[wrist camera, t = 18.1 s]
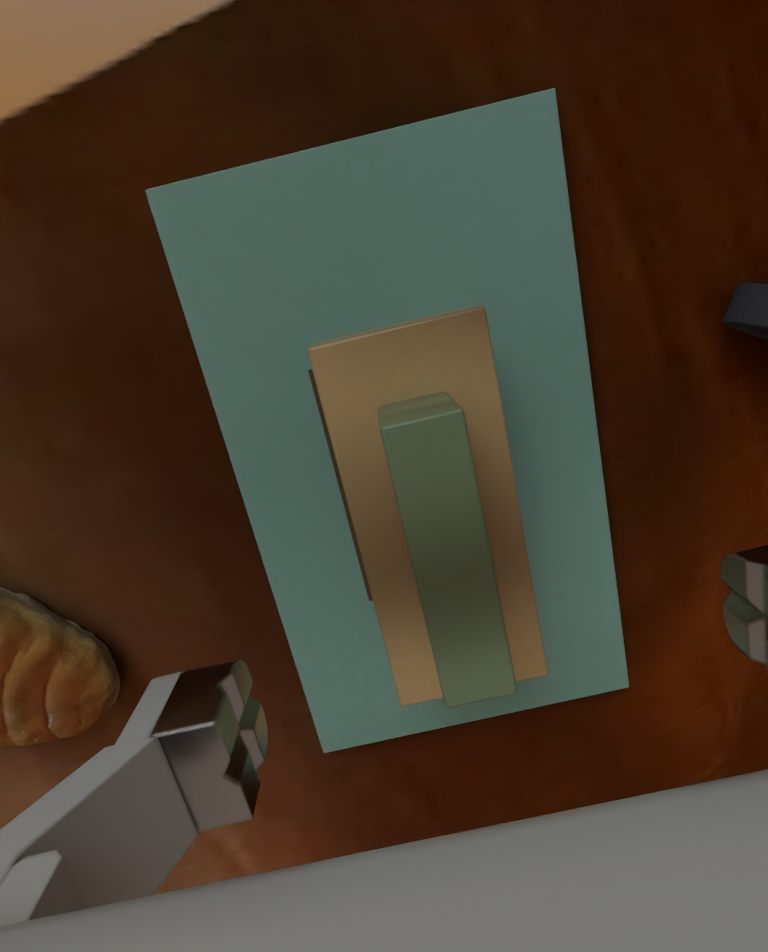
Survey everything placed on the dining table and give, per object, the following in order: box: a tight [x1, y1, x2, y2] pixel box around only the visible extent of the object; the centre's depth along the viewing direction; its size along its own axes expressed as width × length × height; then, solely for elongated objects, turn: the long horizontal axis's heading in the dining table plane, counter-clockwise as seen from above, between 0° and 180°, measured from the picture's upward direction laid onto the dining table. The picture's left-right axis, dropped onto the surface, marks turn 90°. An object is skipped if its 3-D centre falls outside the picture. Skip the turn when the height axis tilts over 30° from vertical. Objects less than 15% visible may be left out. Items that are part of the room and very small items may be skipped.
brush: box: [308, 306, 548, 708], centre depth 18 cm, size 12×5×7 cm, turn 13°
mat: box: [145, 88, 629, 753], centre depth 21 cm, size 22×13×1 cm, turn 13°
